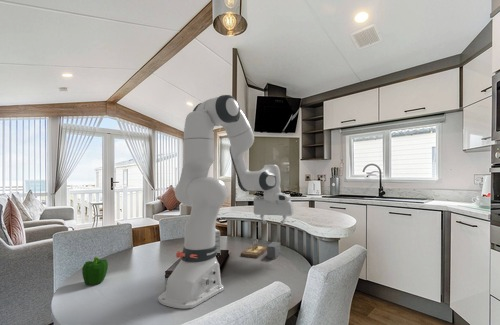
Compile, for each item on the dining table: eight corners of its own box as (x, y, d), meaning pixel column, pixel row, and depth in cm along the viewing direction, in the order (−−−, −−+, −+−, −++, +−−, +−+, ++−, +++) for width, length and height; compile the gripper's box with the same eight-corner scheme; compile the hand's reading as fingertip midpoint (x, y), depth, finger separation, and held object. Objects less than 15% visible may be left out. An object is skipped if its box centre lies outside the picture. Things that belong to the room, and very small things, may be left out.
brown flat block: (257, 257, 116) (257, 245, 116) (240, 255, 120) (240, 244, 120) (268, 248, 131) (268, 238, 131) (253, 247, 134) (253, 236, 135)
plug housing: (275, 258, 114) (274, 247, 114) (267, 258, 116) (266, 246, 116) (280, 253, 122) (280, 242, 123) (273, 252, 124) (272, 241, 124)
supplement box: (202, 254, 124) (202, 229, 125) (216, 252, 127) (216, 228, 128) (206, 258, 117) (206, 232, 118) (220, 256, 120) (220, 230, 121)
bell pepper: (85, 280, 94) (85, 254, 94) (109, 277, 97) (109, 251, 97) (78, 289, 86) (79, 260, 87) (104, 285, 89) (105, 257, 90)
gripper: (251, 196, 122) (251, 224, 121) (290, 196, 114) (291, 226, 113) (255, 195, 128) (256, 222, 127) (293, 195, 120) (294, 223, 119)
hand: (273, 224), depth 120 cm, fingers open, 8 cm apart
